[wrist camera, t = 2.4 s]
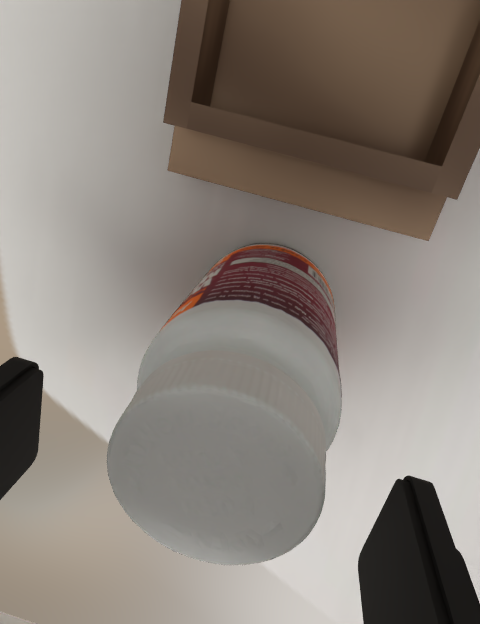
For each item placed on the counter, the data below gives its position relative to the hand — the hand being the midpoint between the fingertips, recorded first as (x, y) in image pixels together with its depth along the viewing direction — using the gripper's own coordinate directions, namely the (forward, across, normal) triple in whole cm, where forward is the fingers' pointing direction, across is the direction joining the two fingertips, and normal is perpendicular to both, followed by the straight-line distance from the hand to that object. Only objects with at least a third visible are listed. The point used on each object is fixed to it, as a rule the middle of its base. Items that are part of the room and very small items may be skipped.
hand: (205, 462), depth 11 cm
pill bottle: (+10, 0, -1) cm, 10 cm away
